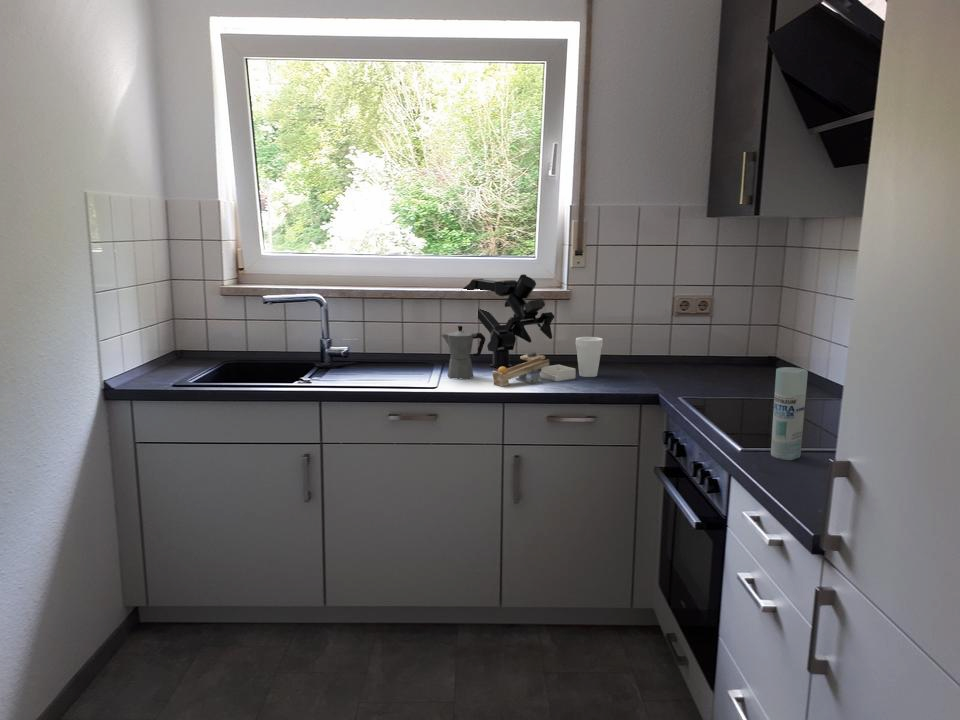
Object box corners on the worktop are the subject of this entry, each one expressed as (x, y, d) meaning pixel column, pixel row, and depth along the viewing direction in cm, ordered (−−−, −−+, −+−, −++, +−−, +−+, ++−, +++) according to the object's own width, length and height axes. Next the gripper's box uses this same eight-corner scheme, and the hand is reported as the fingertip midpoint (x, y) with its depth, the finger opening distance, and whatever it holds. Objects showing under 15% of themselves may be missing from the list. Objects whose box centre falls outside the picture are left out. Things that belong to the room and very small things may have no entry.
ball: (497, 376, 241) (494, 368, 240) (504, 372, 242) (501, 363, 241) (503, 378, 238) (499, 370, 237) (510, 373, 240) (507, 365, 238)
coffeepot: (439, 378, 250) (438, 327, 247) (444, 373, 260) (444, 323, 256) (483, 380, 248) (483, 328, 245) (487, 374, 257) (487, 324, 254)
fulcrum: (515, 379, 249) (515, 370, 248) (525, 378, 251) (525, 369, 251) (531, 384, 241) (531, 374, 241) (542, 382, 244) (542, 373, 243)
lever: (476, 378, 250) (474, 366, 249) (532, 359, 262) (530, 347, 261) (505, 387, 236) (503, 374, 235) (562, 366, 248) (560, 354, 247)
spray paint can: (764, 454, 166) (770, 369, 162) (780, 449, 170) (787, 366, 166) (790, 462, 161) (797, 373, 157) (806, 457, 164) (813, 370, 161)
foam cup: (593, 378, 250) (594, 341, 248) (570, 375, 256) (570, 339, 253) (606, 374, 258) (607, 338, 255) (583, 371, 263) (584, 336, 261)
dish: (539, 376, 253) (539, 367, 253) (558, 374, 258) (558, 364, 257) (555, 381, 246) (556, 371, 245) (575, 378, 250) (575, 368, 250)
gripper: (507, 294, 249) (528, 327, 241) (549, 289, 259) (571, 321, 251) (495, 316, 256) (516, 349, 249) (537, 310, 266) (558, 342, 259)
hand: (541, 340), depth 252 cm, fingers open, 9 cm apart
